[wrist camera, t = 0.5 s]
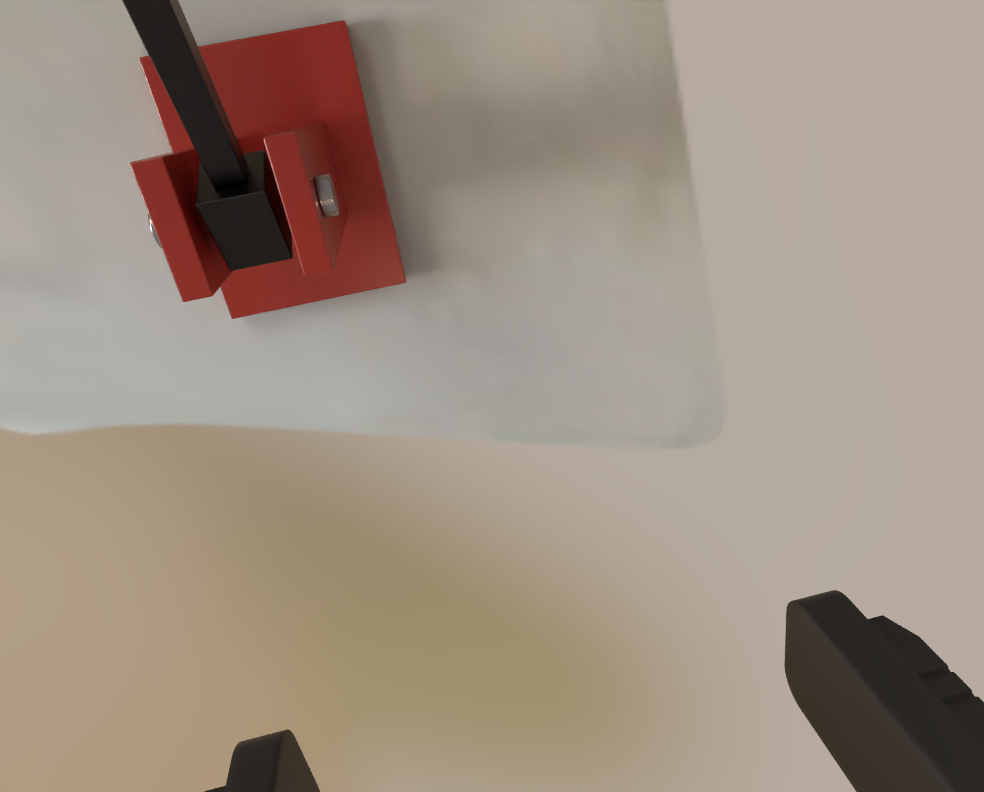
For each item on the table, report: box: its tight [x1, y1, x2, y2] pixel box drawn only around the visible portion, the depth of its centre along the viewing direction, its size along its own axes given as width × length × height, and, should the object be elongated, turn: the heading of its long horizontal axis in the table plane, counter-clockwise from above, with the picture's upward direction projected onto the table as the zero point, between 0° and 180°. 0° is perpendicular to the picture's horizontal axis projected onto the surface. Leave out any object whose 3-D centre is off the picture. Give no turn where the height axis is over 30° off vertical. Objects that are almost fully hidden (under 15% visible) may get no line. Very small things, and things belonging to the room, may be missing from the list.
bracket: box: [130, 20, 406, 319], centre depth 27 cm, size 12×9×13 cm
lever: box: [122, 0, 293, 271], centre depth 18 cm, size 13×3×3 cm, turn 10°
